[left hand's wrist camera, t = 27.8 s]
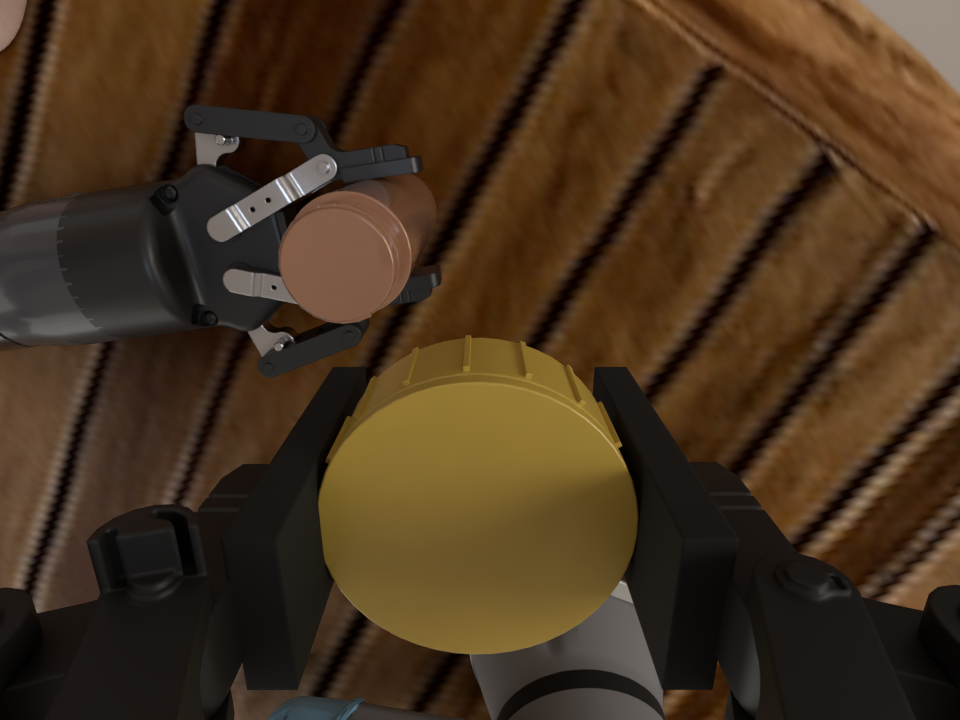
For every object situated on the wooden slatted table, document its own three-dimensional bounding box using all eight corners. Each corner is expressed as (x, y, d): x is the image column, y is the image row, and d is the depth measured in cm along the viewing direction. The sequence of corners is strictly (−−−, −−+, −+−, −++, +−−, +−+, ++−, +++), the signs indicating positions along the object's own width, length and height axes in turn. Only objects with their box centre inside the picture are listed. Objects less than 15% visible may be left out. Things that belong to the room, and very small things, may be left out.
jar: (342, 189, 36) (242, 228, 21) (416, 156, 35) (368, 173, 20) (377, 263, 37) (308, 350, 22) (449, 234, 37) (426, 303, 22)
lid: (347, 570, 13) (321, 654, 11) (333, 328, 11) (298, 372, 9) (598, 576, 13) (621, 662, 11) (627, 337, 11) (662, 383, 9)
